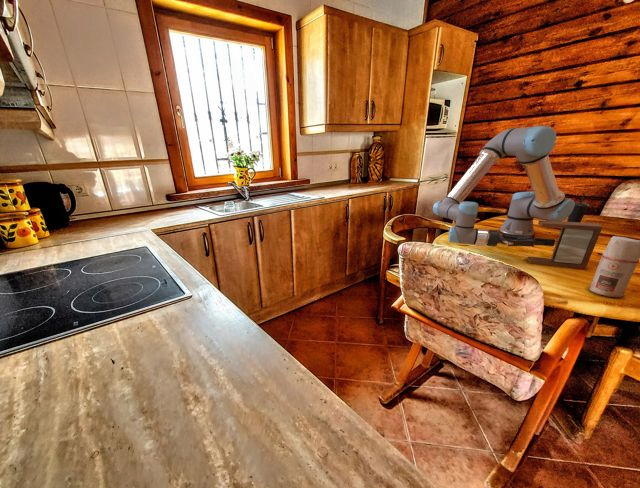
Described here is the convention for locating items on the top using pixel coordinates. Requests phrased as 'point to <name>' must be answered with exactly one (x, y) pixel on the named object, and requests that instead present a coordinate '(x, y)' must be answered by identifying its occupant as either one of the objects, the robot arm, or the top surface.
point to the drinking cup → (578, 211)
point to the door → (558, 243)
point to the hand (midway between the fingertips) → (553, 242)
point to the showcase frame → (571, 244)
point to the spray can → (616, 267)
